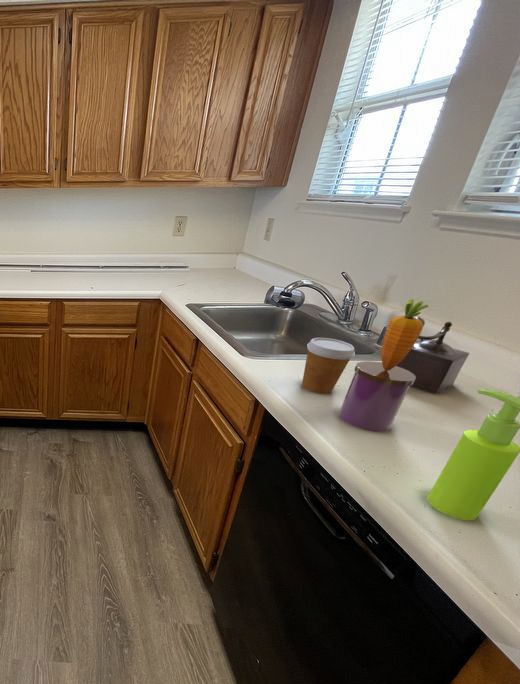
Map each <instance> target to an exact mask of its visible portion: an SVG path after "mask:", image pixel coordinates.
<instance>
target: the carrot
mask: <svg viewBox="0 0 520 684" xmlns="http://www.w3.org/2000/svg"><path fill="white" fill-rule="evenodd" d="M414 302H415V300H414V299H413V298H412V299H408V301H407V302H406V304H405V310H404V315H398V316H394V317H392V318H391V319H390V320H389V323H388V325H387V328H386V330H385V333H384V336H383V340H382V345H381V352H380V356H381V357H380V359H381V363H382V365H383V368H384V370H385V371H388V370H391V369H392V368H394V367H395V366H396V365H398V364H399V363H400V362H401V361H402V360H403V359H404V358H405V357H406V355H407V354H408V353H409V351H410V350H411V349H412V347H413V346H414V344H415V342H416V341H418V339H417V338H418V337H419V336H421V333H422V330H423V328H424V326H423V323H422V321H420V320H419V319H417V318H414V317H415V316H419V315H421V314H422V312H421V310H424V309H426V308H428V307H429V304H426V303H424V301H423V300H418V301H417V302H416V303H415V304H414Z"/></svg>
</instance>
